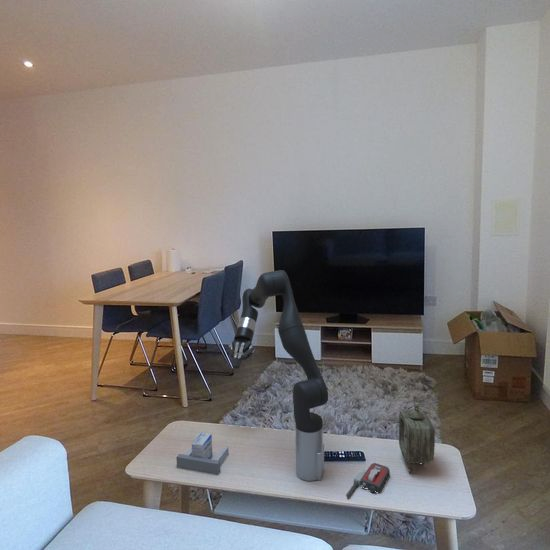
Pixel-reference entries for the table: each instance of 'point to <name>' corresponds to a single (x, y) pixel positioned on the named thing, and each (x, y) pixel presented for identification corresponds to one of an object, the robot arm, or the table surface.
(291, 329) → the robot arm
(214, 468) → the dock
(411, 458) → the olive fabric tall bag
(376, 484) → the walkie-talkie
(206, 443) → the medicine box
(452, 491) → the table surface
